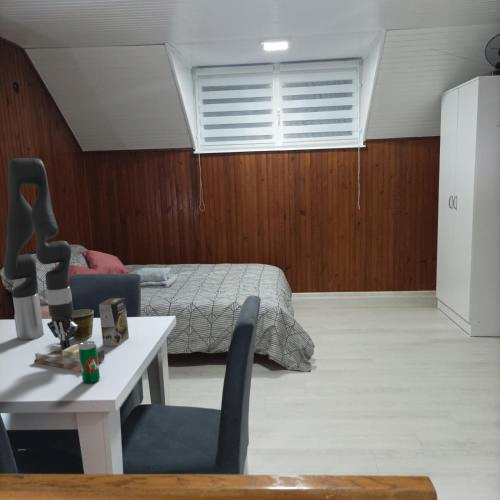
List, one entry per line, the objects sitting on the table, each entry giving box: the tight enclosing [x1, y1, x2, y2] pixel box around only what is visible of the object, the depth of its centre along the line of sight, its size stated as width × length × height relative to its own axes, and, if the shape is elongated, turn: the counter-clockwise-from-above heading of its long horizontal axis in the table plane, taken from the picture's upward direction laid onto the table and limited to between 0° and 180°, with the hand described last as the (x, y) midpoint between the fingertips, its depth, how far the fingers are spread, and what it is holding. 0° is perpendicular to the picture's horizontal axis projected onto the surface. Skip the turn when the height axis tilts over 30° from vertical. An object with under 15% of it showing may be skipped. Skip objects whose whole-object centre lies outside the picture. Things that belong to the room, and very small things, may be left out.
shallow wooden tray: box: [34, 344, 106, 372], centre depth 153 cm, size 23×10×4 cm, turn 65°
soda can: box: [79, 340, 101, 385], centre depth 136 cm, size 5×5×12 cm
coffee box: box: [98, 297, 130, 347], centre depth 169 cm, size 9×6×16 cm
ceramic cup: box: [72, 308, 95, 341], centre depth 176 cm, size 13×10×10 cm
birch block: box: [62, 343, 80, 360], centre depth 151 cm, size 6×6×4 cm
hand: (66, 349), depth 153 cm, fingers closed
